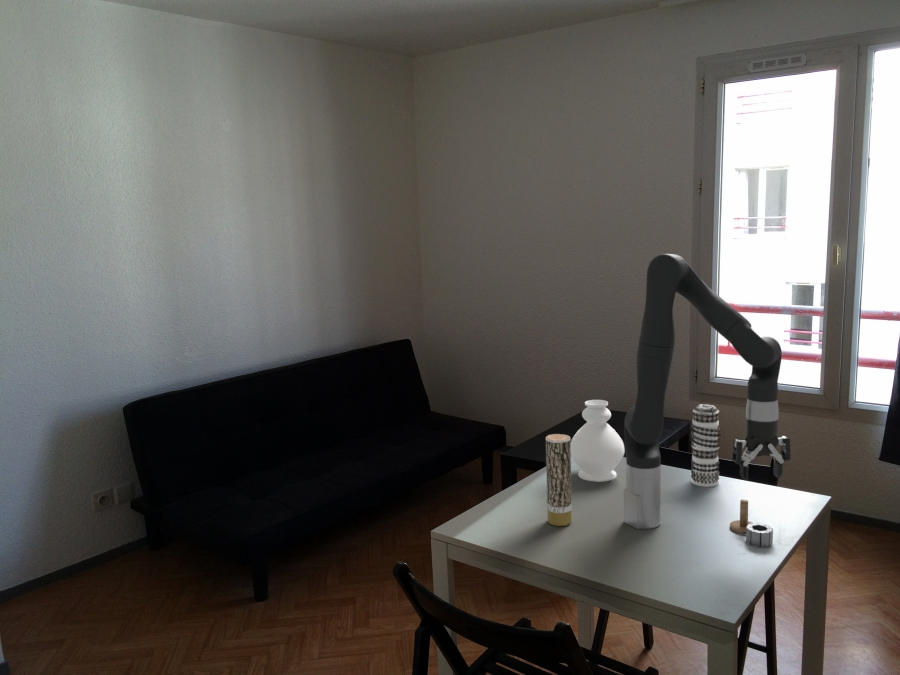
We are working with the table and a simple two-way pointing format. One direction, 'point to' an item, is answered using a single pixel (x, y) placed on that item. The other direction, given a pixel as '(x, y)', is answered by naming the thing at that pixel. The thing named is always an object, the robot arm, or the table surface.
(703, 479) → the decorative candle
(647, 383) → the robot arm
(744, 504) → the wooden peg stand
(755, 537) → the ring
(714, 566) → the table surface
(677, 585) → the table surface
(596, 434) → the decorative vase
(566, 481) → the paper tube
